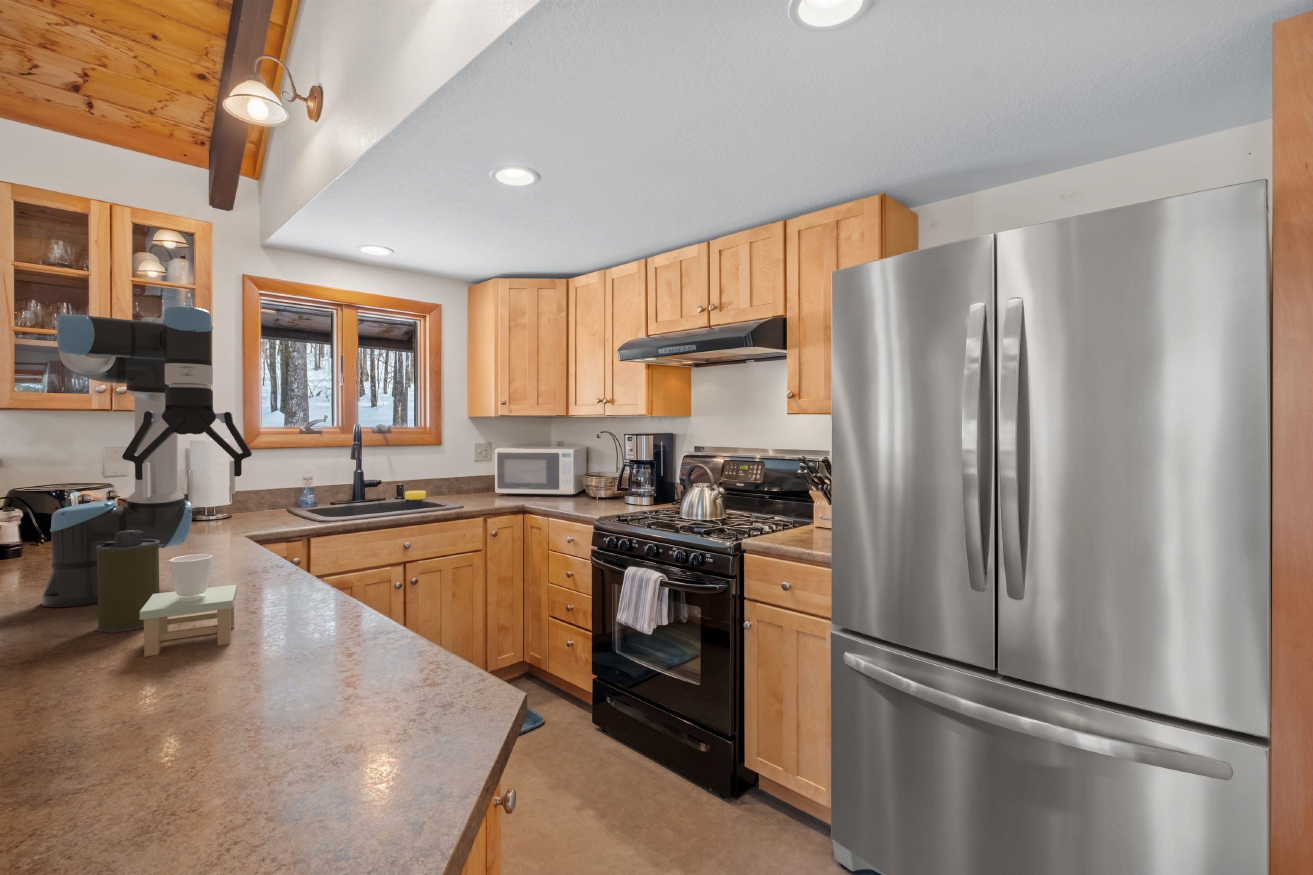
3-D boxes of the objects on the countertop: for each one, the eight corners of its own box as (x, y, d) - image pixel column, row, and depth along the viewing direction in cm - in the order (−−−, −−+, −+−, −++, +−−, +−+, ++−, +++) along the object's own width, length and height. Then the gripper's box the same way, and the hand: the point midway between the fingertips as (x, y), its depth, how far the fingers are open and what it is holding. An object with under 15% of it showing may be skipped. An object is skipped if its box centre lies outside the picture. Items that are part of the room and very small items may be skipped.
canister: (173, 617, 137) (172, 527, 136) (129, 633, 126) (127, 535, 126) (128, 616, 138) (127, 526, 138) (81, 632, 128) (79, 535, 127)
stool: (153, 635, 125) (153, 593, 125) (237, 624, 132) (237, 584, 132) (140, 657, 113) (139, 611, 113) (233, 643, 120) (232, 600, 120)
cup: (170, 606, 116) (170, 563, 116) (166, 595, 124) (165, 555, 124) (216, 598, 121) (215, 557, 121) (209, 589, 128) (208, 550, 128)
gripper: (100, 383, 112) (102, 500, 113) (263, 387, 125) (265, 493, 126) (110, 386, 119) (112, 496, 119) (264, 389, 132) (266, 489, 132)
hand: (190, 495), depth 122 cm, fingers open, 13 cm apart
